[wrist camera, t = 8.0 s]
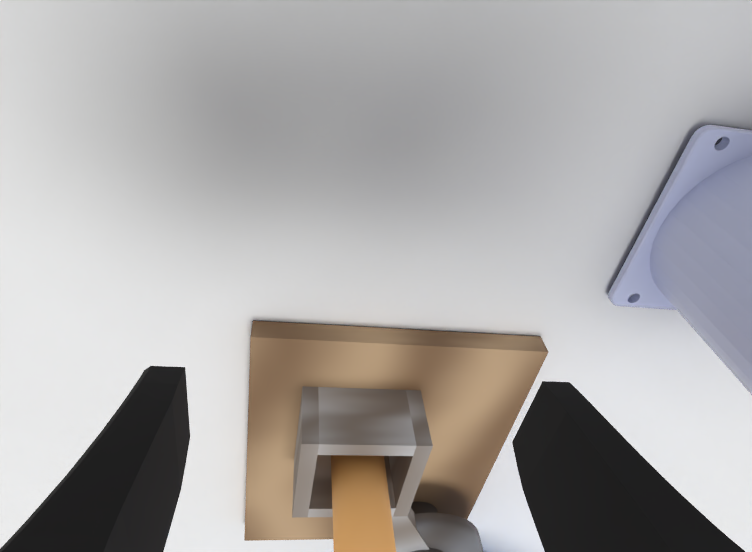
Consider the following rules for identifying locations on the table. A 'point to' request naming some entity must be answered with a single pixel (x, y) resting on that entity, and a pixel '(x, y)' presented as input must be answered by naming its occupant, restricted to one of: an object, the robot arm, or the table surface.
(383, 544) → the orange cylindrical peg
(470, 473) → the wooden board with socket
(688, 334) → the table surface
